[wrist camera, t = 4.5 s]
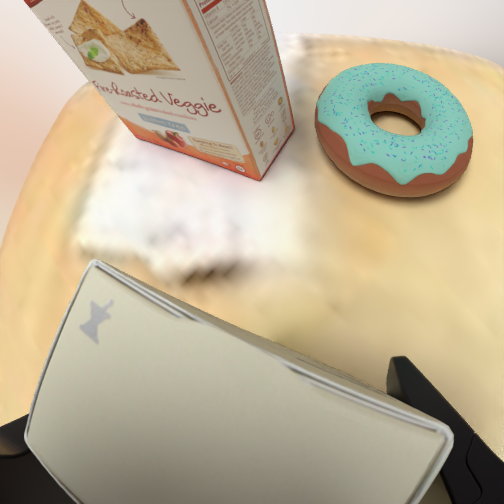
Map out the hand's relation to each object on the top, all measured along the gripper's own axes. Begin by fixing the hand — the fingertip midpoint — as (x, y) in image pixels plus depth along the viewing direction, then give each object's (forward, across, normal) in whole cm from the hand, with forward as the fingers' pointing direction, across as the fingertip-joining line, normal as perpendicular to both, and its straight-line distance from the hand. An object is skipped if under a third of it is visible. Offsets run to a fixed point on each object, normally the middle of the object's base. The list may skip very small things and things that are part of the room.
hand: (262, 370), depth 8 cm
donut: (+18, -8, -4) cm, 20 cm away
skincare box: (+4, 0, +6) cm, 7 cm away
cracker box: (+19, +7, -6) cm, 22 cm away
